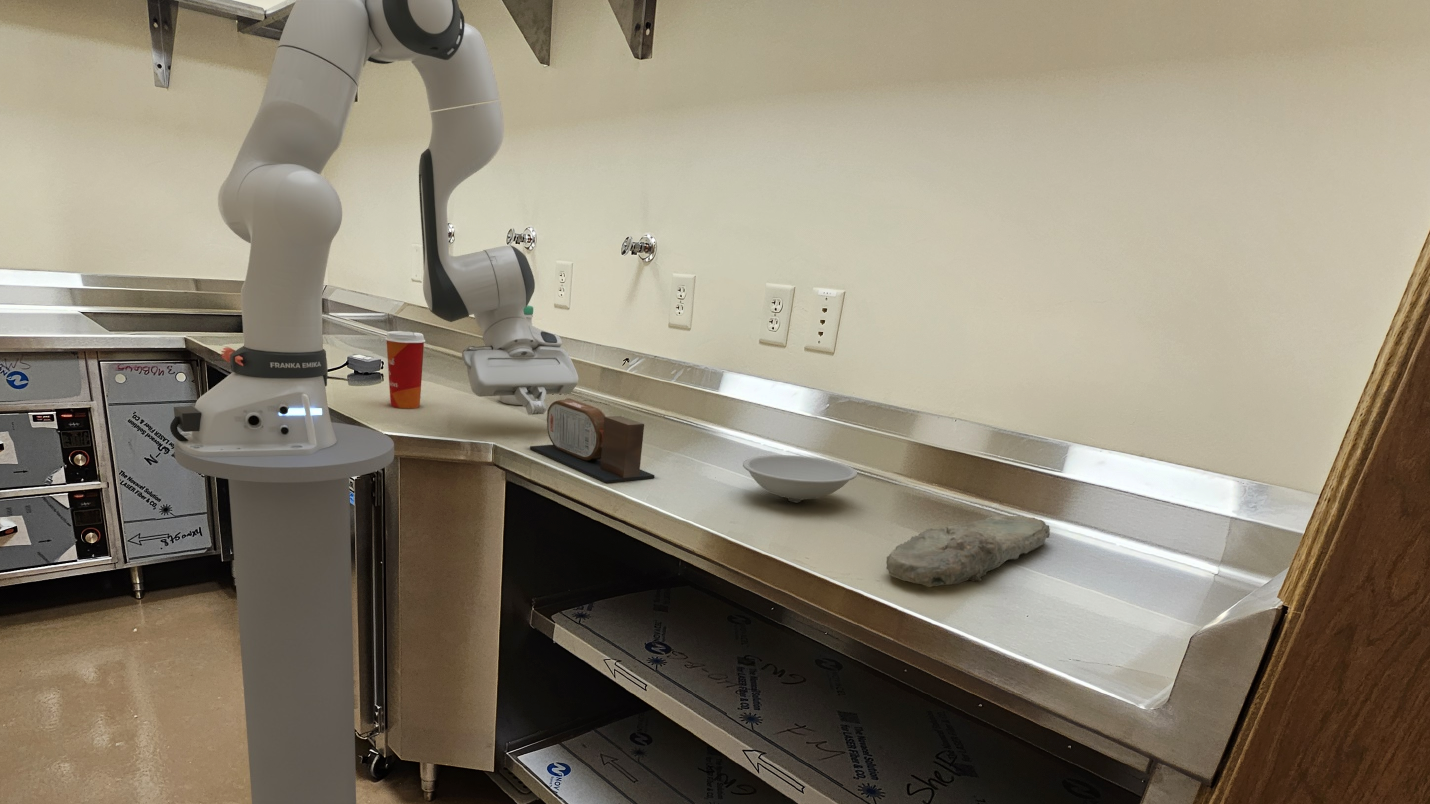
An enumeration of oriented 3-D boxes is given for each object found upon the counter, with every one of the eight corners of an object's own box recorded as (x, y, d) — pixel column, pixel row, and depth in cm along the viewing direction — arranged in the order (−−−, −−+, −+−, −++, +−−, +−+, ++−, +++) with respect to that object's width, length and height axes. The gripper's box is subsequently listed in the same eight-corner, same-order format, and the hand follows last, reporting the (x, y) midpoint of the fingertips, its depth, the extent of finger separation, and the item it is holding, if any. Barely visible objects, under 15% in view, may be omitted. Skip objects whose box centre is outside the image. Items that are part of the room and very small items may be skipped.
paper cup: (391, 400, 169) (390, 329, 165) (428, 404, 169) (429, 332, 164) (380, 407, 162) (379, 333, 157) (419, 411, 162) (420, 336, 157)
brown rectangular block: (623, 478, 124) (628, 424, 121) (599, 468, 128) (604, 416, 126) (639, 476, 126) (644, 423, 123) (615, 466, 130) (620, 415, 127)
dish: (785, 521, 111) (791, 485, 110) (715, 492, 123) (720, 458, 121) (874, 509, 120) (881, 475, 119) (802, 483, 132) (807, 452, 130)
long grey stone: (1065, 556, 110) (989, 538, 117) (1074, 517, 109) (996, 501, 116) (948, 600, 87) (861, 574, 94) (958, 551, 85) (869, 528, 92)
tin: (610, 465, 131) (615, 411, 128) (594, 466, 129) (598, 412, 126) (557, 443, 142) (560, 394, 139) (541, 445, 140) (544, 394, 138)
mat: (606, 483, 122) (606, 480, 122) (529, 449, 139) (529, 446, 139) (654, 478, 127) (654, 475, 127) (574, 445, 144) (574, 442, 144)
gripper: (465, 334, 140) (490, 404, 136) (567, 336, 151) (594, 400, 147) (452, 358, 145) (477, 425, 141) (552, 357, 156) (578, 420, 152)
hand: (537, 412), depth 144 cm, fingers closed
